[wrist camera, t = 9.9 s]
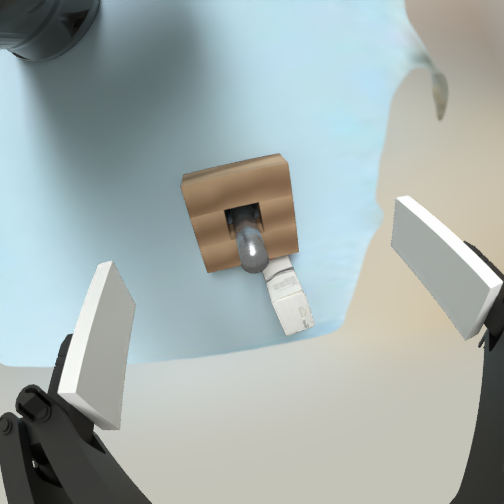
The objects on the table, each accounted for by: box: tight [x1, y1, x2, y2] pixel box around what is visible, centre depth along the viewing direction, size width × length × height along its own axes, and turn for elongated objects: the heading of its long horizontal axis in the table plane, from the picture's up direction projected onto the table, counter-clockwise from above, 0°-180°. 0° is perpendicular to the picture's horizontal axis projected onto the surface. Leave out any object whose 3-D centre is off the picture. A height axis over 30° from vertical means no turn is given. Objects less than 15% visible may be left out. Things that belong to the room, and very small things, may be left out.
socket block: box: [181, 154, 299, 273], centre depth 43 cm, size 14×14×5 cm
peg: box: [231, 204, 269, 273], centre depth 40 cm, size 3×3×14 cm
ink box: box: [263, 255, 314, 336], centre depth 48 cm, size 9×5×12 cm, turn 21°
